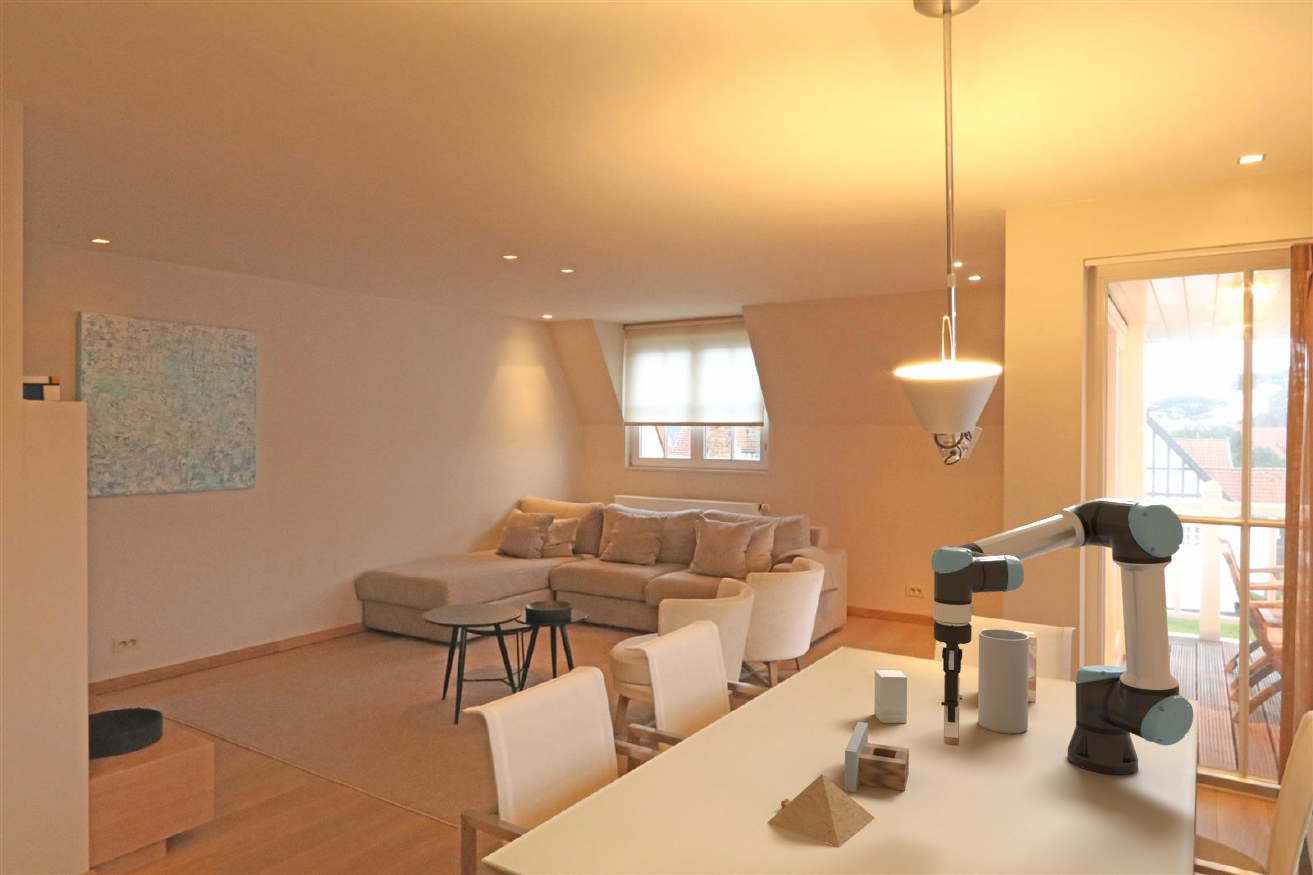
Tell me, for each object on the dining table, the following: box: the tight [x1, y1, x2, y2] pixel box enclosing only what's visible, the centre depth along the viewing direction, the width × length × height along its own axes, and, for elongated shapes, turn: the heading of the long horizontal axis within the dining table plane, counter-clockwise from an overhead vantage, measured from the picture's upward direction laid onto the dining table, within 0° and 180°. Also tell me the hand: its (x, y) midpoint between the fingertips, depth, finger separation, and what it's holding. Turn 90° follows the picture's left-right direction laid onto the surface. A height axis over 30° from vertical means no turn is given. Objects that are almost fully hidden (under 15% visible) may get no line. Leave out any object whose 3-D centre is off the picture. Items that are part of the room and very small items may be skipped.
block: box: [859, 742, 910, 792], centre depth 195 cm, size 10×10×6 cm
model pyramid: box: [767, 773, 876, 848], centre depth 174 cm, size 17×17×10 cm
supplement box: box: [873, 669, 908, 724], centre depth 236 cm, size 7×7×13 cm
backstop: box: [844, 721, 869, 794], centre depth 197 cm, size 2×20×9 cm, turn 159°
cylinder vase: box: [977, 628, 1029, 735], centre depth 230 cm, size 12×12×25 cm
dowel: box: [943, 675, 961, 747], centre depth 178 cm, size 3×3×14 cm
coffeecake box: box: [981, 628, 1038, 703], centre depth 256 cm, size 15×7×20 cm, turn 73°
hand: (951, 733), depth 178 cm, fingers closed on dowel, 3 cm apart
